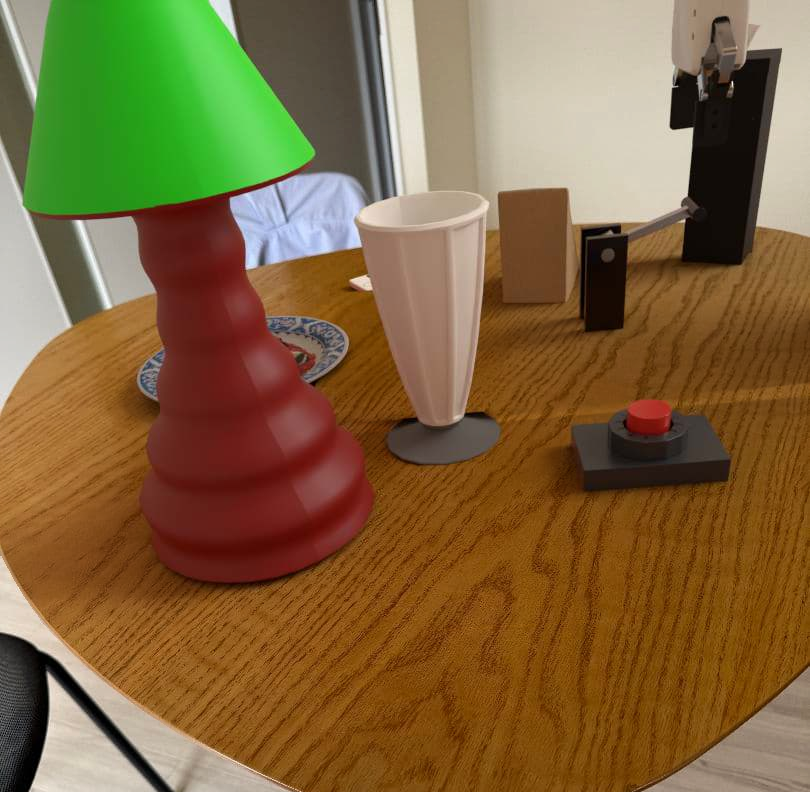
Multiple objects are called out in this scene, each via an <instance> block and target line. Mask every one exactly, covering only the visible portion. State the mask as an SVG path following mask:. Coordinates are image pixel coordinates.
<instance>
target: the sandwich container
mask: <svg viewBox="0 0 810 792" xmlns="http://www.w3.org/2000/svg"><path fill="white" fill-rule="evenodd" d="M570 201H571V200H570V191H569V188H568V187H536V188H523V189H512V190H502V191H501V190H500V191H498V193H497V215H498V229H499V249H500V267H501V285H502V287H501V288H502V302H503V304H529V303H530V304H531V303H532V304H535V303H536V304H537V303H538V304H539V303H540V304H541V303H542V304H543V303H544V304H545V303H546V304H547V303H549V304H551V303H556V304H557V303H567V302H568V300H569V298H570V296H571V294H572V292H573V289H574V285H575V282H576V278H577V275H578V273H579V272H578V271H579V270H580V263H579V260H578V259H579V258H578V253H577V246H576V240H575V239H576V238H575V233H574V226H573V220H572V213H571V212H572V211H571V202H570Z"/></svg>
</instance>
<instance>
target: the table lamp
mask: <svg viewBox="0 0 810 792" xmlns="http://www.w3.org/2000/svg"><path fill="white" fill-rule="evenodd" d="M49 2H50V3H49V6H48V12H47V17H46V21H45V27H44V28H45V29H44V36H43V44H42V52H41V58H40V65H39V66H40V67H39V73H38V82H37V88H36V89H37V90H36V97H35V105H34V112H33V119H32V126H31V134H30V143H29V150H28V156H27V157H28V158H27V165H26V171H25V172H26V173H25V181H24V188H23V196H22V207H24V208H25V210H26V211H27V212H28V213H29V214H30V215H32V216H35V217H38V218H41V219H46V220H55V221H94V220H95V221H96V220H111V219H119V218H127V217H131V218H132V219H133V222H134V224H135V226H136V231H137V247H138V249H137V250H138V256H139V260H140V264H141V266H142V268H143V271H144V273H145V274H146V276H147V277H148V279H149V281H150V283H151V284H152V286H153V288H154V290H155V293H156V300H157V301H156V312H155V314H156V317H155V319H156V320H155V321H156V326H157V332H158V335H159V338H160V339H161V343H162V345H163V348H164V351H165V356H164V360H163V363H162V365H161V368H160V371H159V373H158V377H157V381H156V393H157V398H158V401H159V402H158V405H159V407H160V408H159V409H160V410H159V414H158V415H157V417H156V419H155V420H154V422H153V424H152V425H151V426H150V428H149V431H148V434H147V439H146V441H145V448H146V457H147V460H148V462H149V464H150V466H151V467H150V469H149V471H148V473H147V475H146V476H145V478H144V479H143V482H142V486H141V491H140V494H139V505H140V506H139V507H140V511H141V513H142V516H143V517H144V519H145V521H146V522H147V524H148V526H149V527H150V528H151V530H150V540H151V542H150V543H151V548H152V550H153V551H154V553H155V555H156V556H157V558H158V560H159V561H160V562H161V563H163V564H164V565H165V566H166V567H167V568H168V569H169V570H171V571H174V572H176V573H178V574H180V575H182V576H183V577H186V578H188V579H192V580H196V581H202V582H206V583H220V584H221V583H222V584H239V583H256V582H263V581H267V580H274V579H278V578H282V577H284V576H288V575H290V574H294V573H296V572H299V571H302V570H303V569H306V568H308V567H310V566H313V565H315V564H317V563H319V562H321V561H322V560H324V559H326V558H328V557H330V556H331V555H333V554H334V553H336V552H338V551H339V550H341V549H342V548H343V547H344V546H346V545H347V544H349V543H350V542H351V541H352V540H354V539H355V537H356V536H357V535H358V533H359V532H360V531H361V529H362V528H363V527H364V525H366V523H367V521H368V519H369V518H370V514H371V513H372V511H373V506H374V502H375V501H374V500H375V494H374V489H373V485H372V484H371V482H370V480H369V478H368V477H367V475H366V474H365V470H366V458H365V453H364V449H363V447H362V445H361V444H360V442H359V440H358V439H357V438H356V436H355V435H353V434H352V432H350V431H349V430H348V429H346V428H345V427H344V426H342V425H340V424H339V423H337V422H336V417H335V411H334V407H333V404H332V403H331V402H330V400H329V399H328V397H327V396H326V395H325V394H324V393H323V392H322V391H320V389H318V388H317V387H315V386H313V385H312V384H311V383H307V382H305V381H304V380H302V379H301V378H300V374H299V370H298V366H297V363H296V360H295V358H294V356H293V354H292V353H291V352H290V350H289V349H288V348H287V347H286V346H285V345H284V344H283V343H282V342H280V341H279V340H278V339H277V338H276V337H275V336H274V335H273V334H272V333H271V332H270V331H269V328H268V326H267V322H266V317H267V315H266V311H265V307H264V303H263V301H262V299H261V298H260V295H259V294H258V292H257V291H256V289H255V287H254V286H253V284H252V283H251V282H250V279H249V277H248V274H247V268H246V258H247V257H246V256H247V252H246V251H247V248H246V240H245V237H244V235H243V234H244V233H243V232H242V230H241V228H240V226H239V223H238V222H237V220H236V218H235V217H234V214H233V211H232V208H231V198H234V197H238V196H241V195H242V196H243V195H244V194H248V193H251V192H256V191H259V190H262V189H265V188H268V187H271V186H273V185H277V184H279V183H281V182H284V181H286V180H288V179H290V178H292V177H295V176H297V175H299V174H300V173H302V172H303V171H305V170H306V169H308V168H309V167H310V166H311V165H312V164H313V162H314V161H315V157H316V150H315V148H314V147H313V146H312V144H311V143H310V142H309V140H308V139H307V137H306V136H305V134H304V133H303V131H302V130H301V129H300V127H299V126H298V125H297V124H296V122H295V121H294V119H293V117H292V116H291V115H290V113H289V112H288V110H287V109H286V107H284V105H283V103H282V102H281V101H280V100H279V97H277V96H276V94H275V92H274V91H273V90H272V88H271V87H270V85H269V84H268V83H267V82H266V80H265V78H264V77H263V76H262V74H261V73H260V72H259V70H258V69H257V67H256V66H255V64H254V63H253V62H252V60H251V59H250V57H249V56H248V54H247V53H246V52H245V50H244V49H243V48H242V46H241V45H240V44H239V42H238V41H237V39H236V38H235V36H234V35H233V34H232V32H231V31H230V29H229V28H228V27H227V25H226V23H225V22H224V21H223V20H222V18H221V16H220V15H219V14H218V13H217V11H216V10H215V8H214V7H213V6H212V4H211V3H210V1H209V0H50V1H49Z"/></svg>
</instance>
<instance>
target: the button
mask: <svg viewBox="0 0 810 792" xmlns="http://www.w3.org/2000/svg"><path fill="white" fill-rule="evenodd" d="M626 408H627V423H626V427H627V429H628V430H629V431H631V432H633V433H635V434H641V435H647V436H648V435H660V434H662V433H665V432H667V431H668V430H669V429H670V421H671V409H672V406H671V405H670V404H669V403H668V402H665V401H663V400H659V399H654V398H653V399H651V398H646V399H639V400H635V401H633V402H631V403H630V404H629V405H628V406H627V407H626Z"/></svg>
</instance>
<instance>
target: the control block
mask: <svg viewBox="0 0 810 792" xmlns="http://www.w3.org/2000/svg"><path fill="white" fill-rule="evenodd" d="M627 408H628V407H626V408H624V409H621V410H618V411H616V412H615V413H614V414H613V415H612V416H611V418H610V419H609V420H608V421H607V422H594V423H583V424H572V425H570V448H571V450H572V455H573V459H574V462H575V466H576V469H577V473H578V477H579V481H580V484H581V488H582V491H583V492H584V493H588V492H600V491H601V492H602V491H614V490H625V489H626V490H627V489H640V488H653V487H666V486H677V485H692V484H704V483H705V484H706V483H717V482H719V483H720V482H728V481H729V476H730V468H731V462H732V458H731V457H730V455H729V453H728V451H727V450H726V448H725V446H724V445H723V443H722V441H721V439H720V438H719V436H718V434H717V432H716V431H715V429H714V427H713V426H712V424H711V422H710V420H709V419H708V417H707V415H706V414H705V413H701V414H691V415H685V414H683V413H681V412H679V411H677V410H674V409H673V408H671V421H670V429H669V430H668V431H667V432H665V433H662V434H660V435H648V436H647V435H641V434H635V433H633V432H631V431H629V430H628V429H627V427H626V423H627Z"/></svg>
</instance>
